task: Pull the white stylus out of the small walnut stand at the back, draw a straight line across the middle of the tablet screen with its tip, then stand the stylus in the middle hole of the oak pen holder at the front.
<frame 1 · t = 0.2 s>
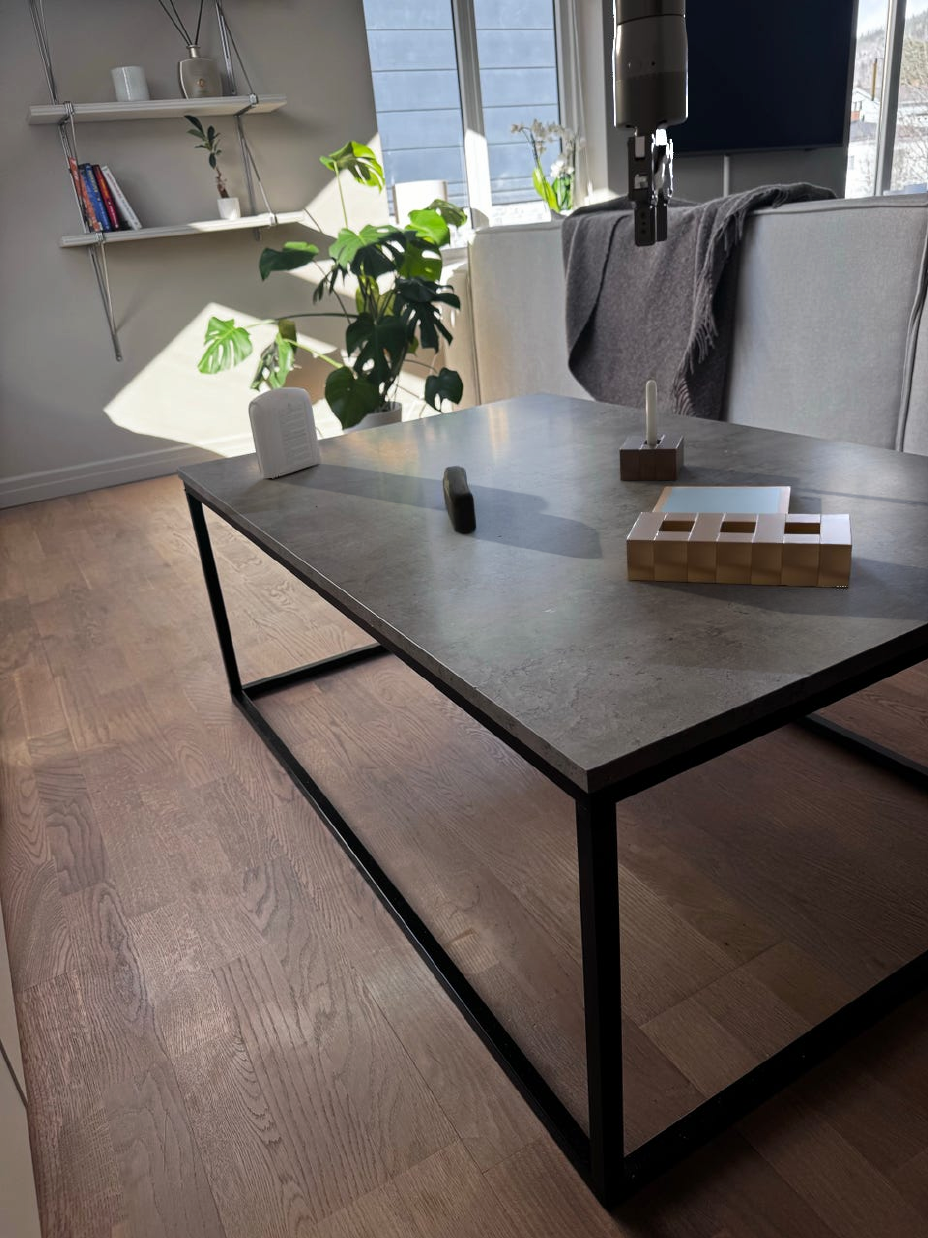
hand: (652, 243, 98), 28 cm above the table, tool pointing down, fingers open, 8 cm apart
tablet: (718, 518, 95), on the table
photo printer: (292, 471, 135), on the table
pen holder: (737, 567, 82), on the table
dark grey tall block: (459, 516, 106), on the table
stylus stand: (652, 472, 114), on the table
stylus: (651, 427, 112), in the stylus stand
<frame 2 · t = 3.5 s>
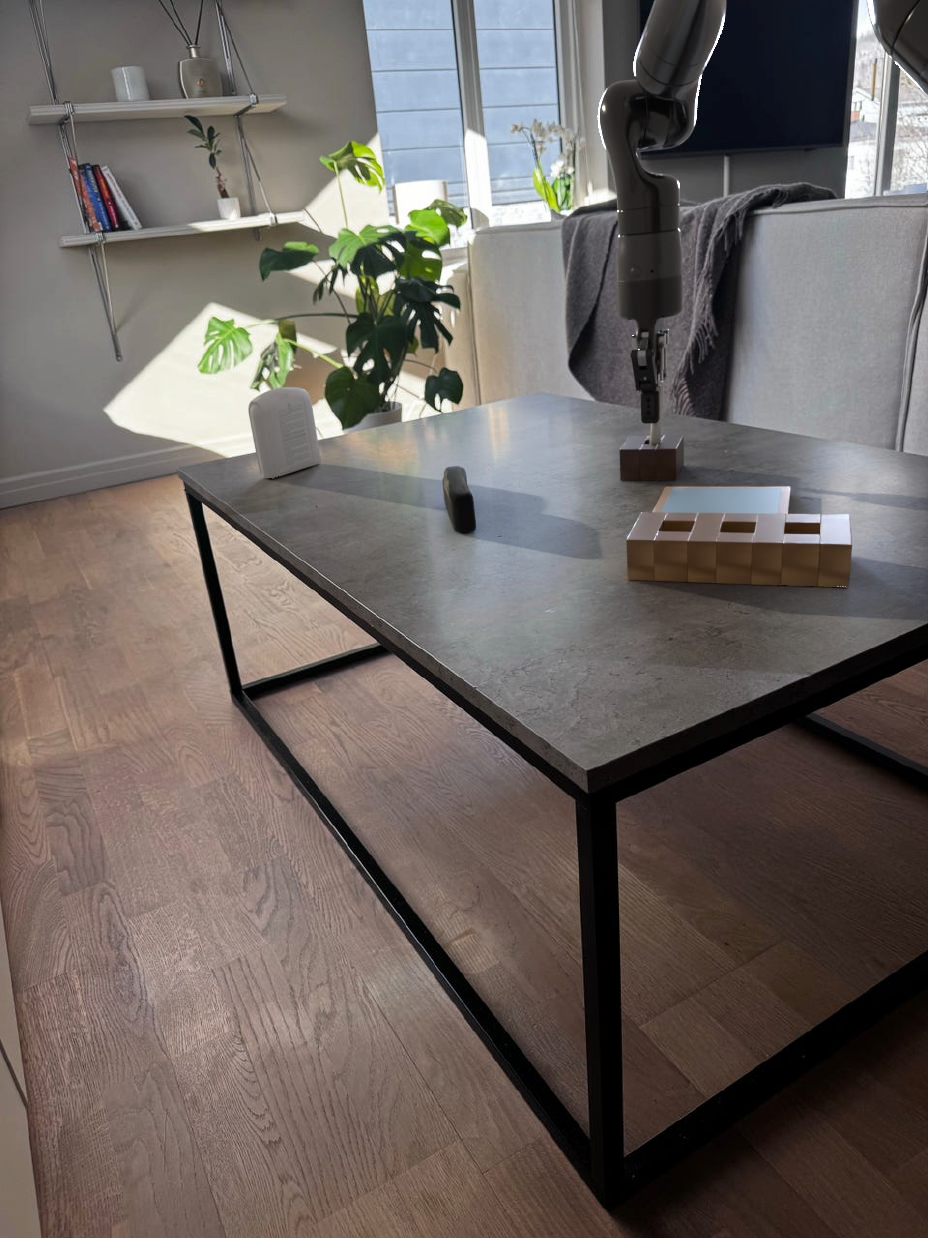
hand: (651, 420, 111), 7 cm above the table, tool pointing down, fingers closed on stylus, 1 cm apart
stylus: (655, 427, 111), in the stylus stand, tilted 5°, touching gripper
everything else where it was.
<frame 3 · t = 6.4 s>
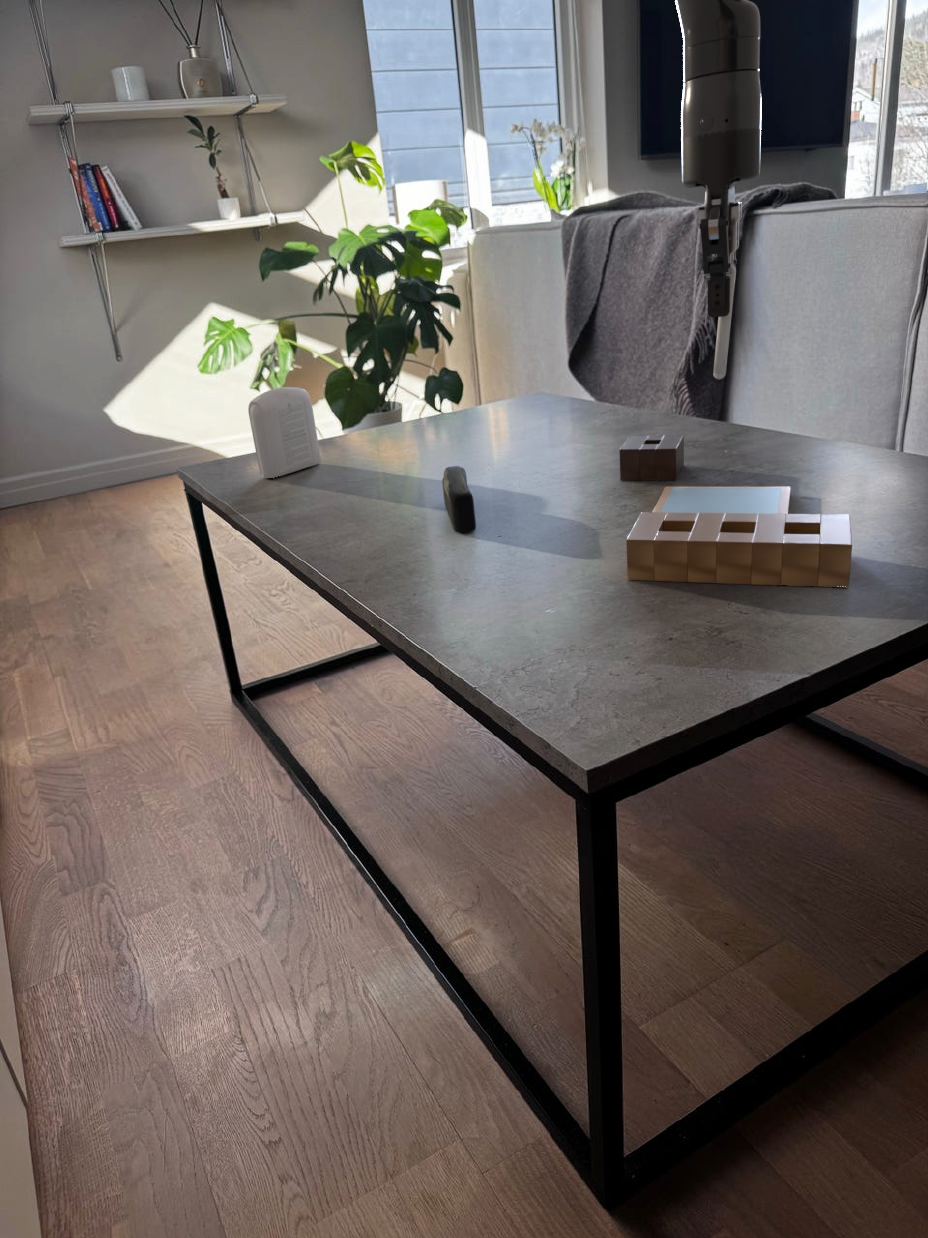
hand: (719, 314, 94), 20 cm above the table, tool pointing down, fingers closed on stylus, 1 cm apart
stylus: (724, 323, 94), point 19 cm above the table, touching gripper
everything else where it was.
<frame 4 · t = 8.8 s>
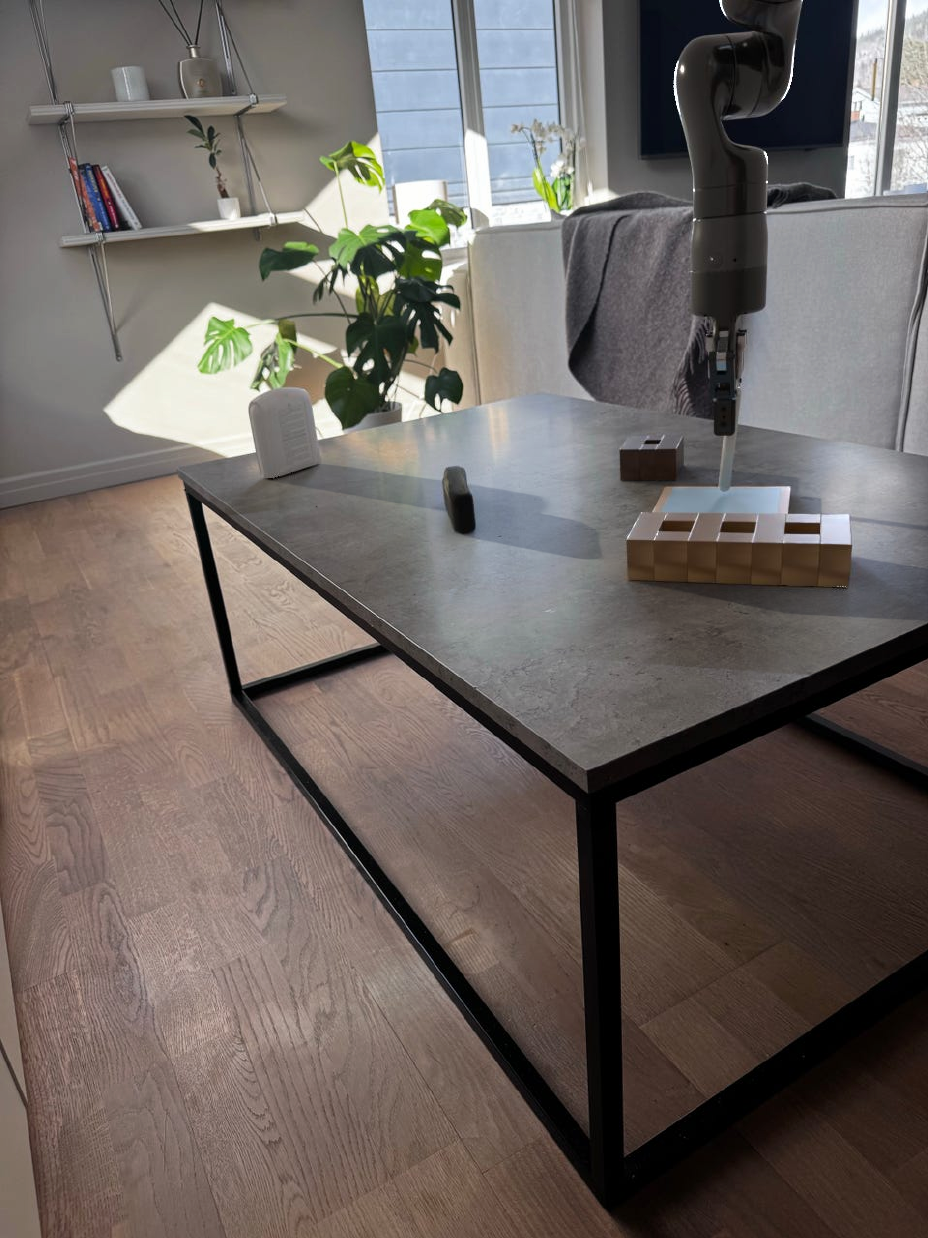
hand: (725, 432, 97), 8 cm above the table, tool pointing down, fingers closed on stylus, 1 cm apart
stylus: (729, 440, 97), point 7 cm above the table, tilted 5°, touching gripper
everything else where it was.
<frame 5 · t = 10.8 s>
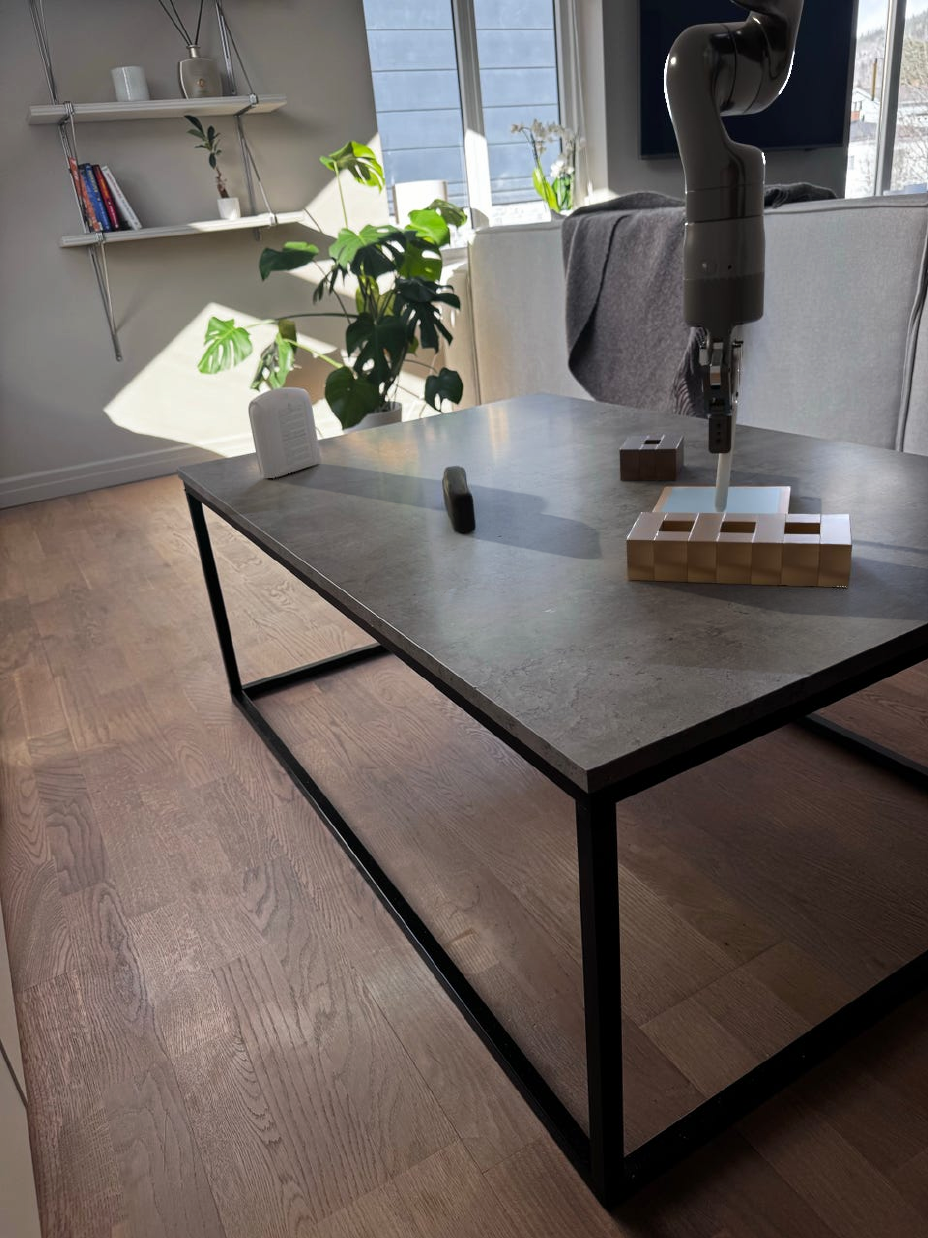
hand: (720, 449, 91), 8 cm above the table, tool pointing down, fingers closed on stylus, 1 cm apart
stylus: (725, 458, 91), point 7 cm above the table, tilted 5°, touching gripper
everything else where it was.
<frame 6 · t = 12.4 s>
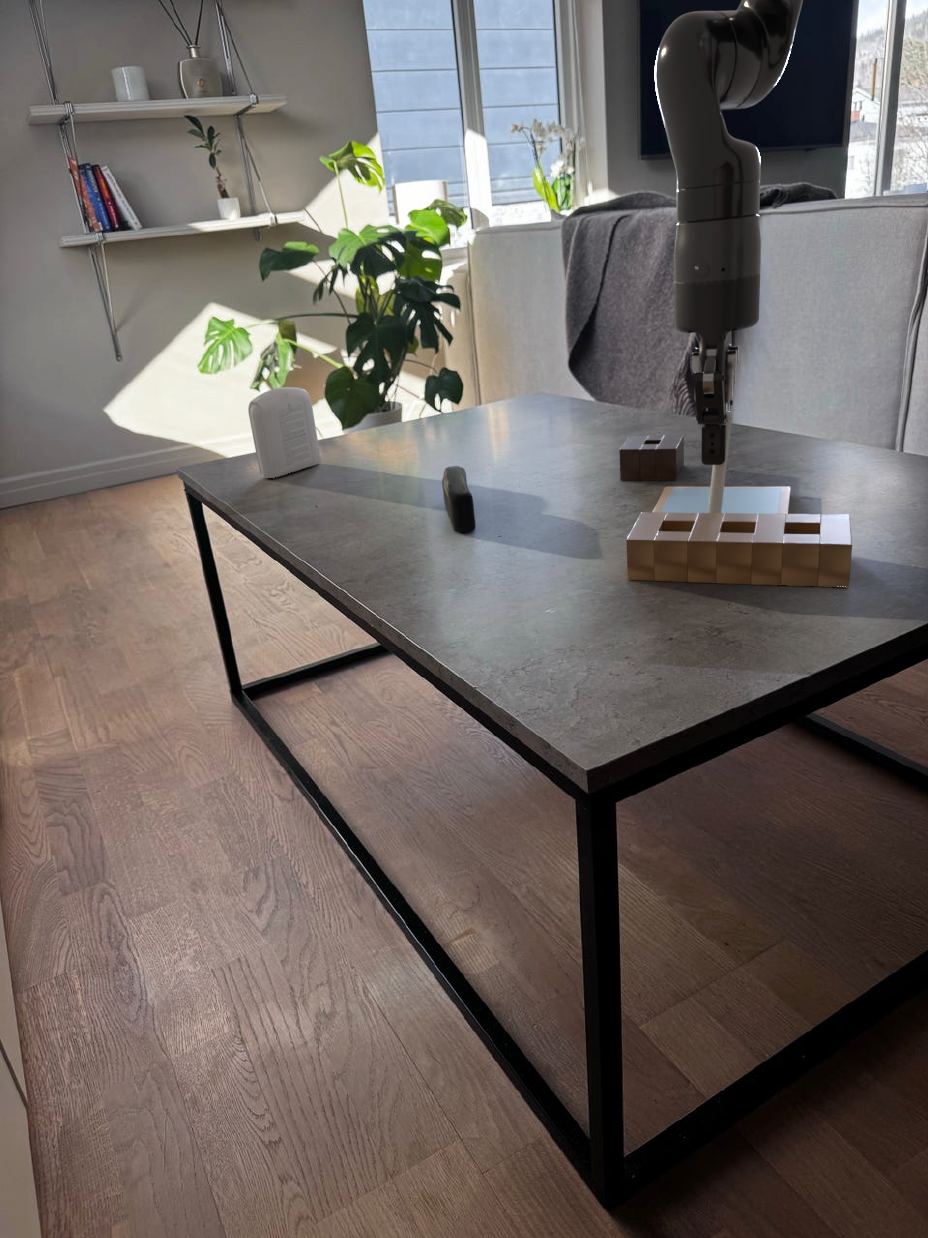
hand: (714, 460, 87), 8 cm above the table, tool pointing down, fingers closed on stylus, 1 cm apart
stylus: (719, 469, 87), point 7 cm above the table, tilted 5°, touching gripper
everything else where it was.
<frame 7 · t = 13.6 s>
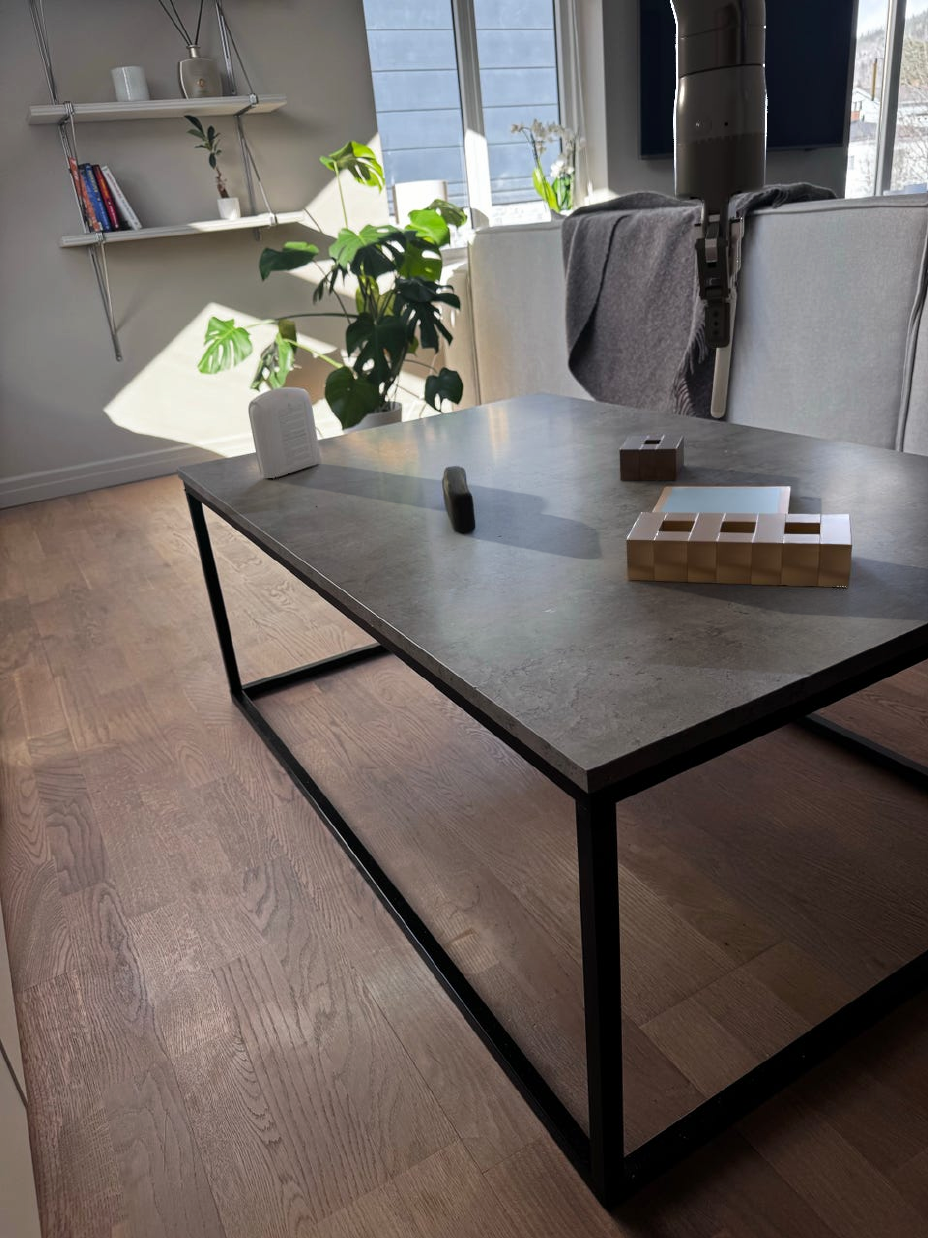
hand: (718, 344, 82), 19 cm above the table, tool pointing down, fingers closed on stylus, 1 cm apart
stylus: (723, 354, 82), point 18 cm above the table, touching gripper
everything else where it was.
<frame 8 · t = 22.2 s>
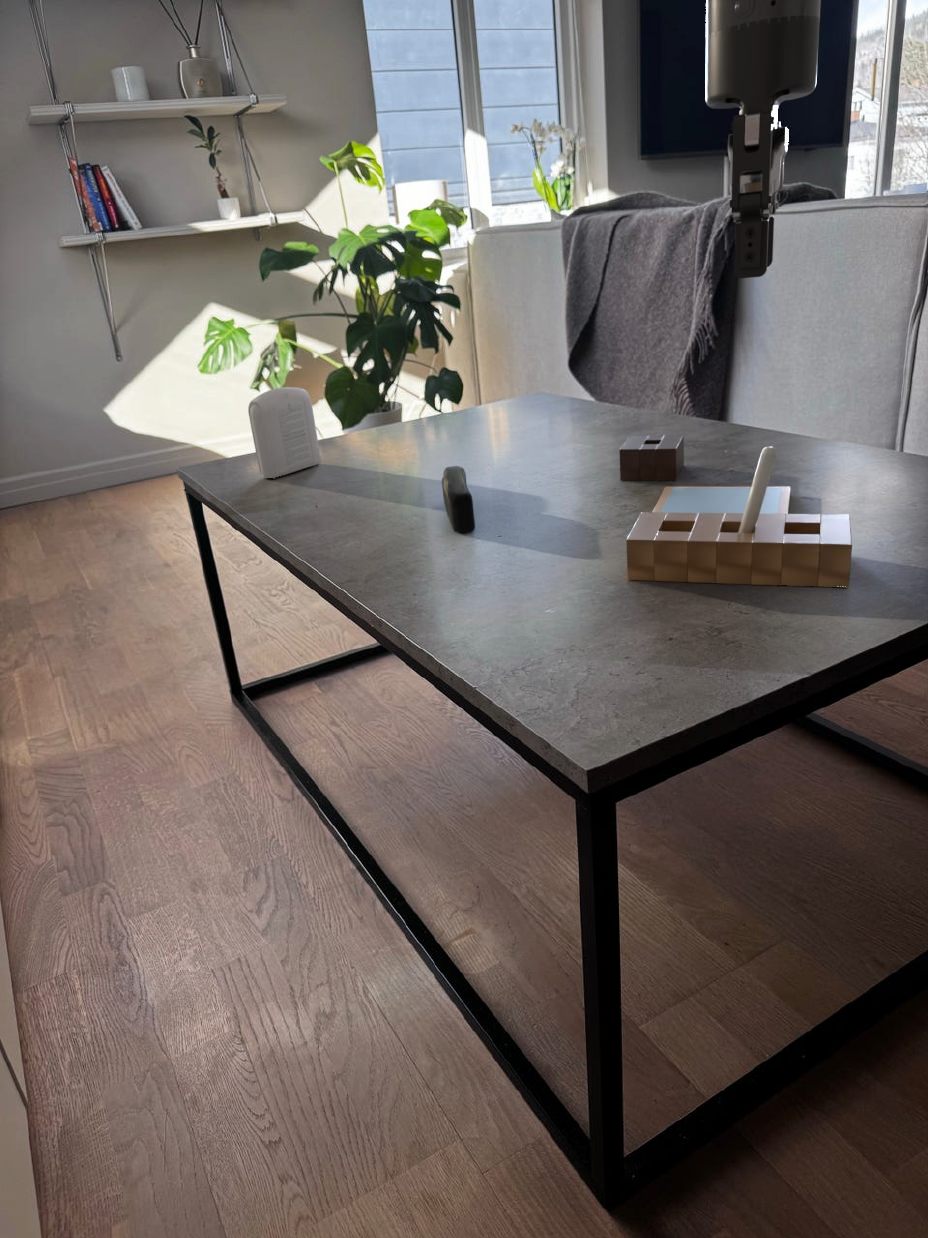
hand: (754, 272, 68), 26 cm above the table, tool pointing down, fingers open, 8 cm apart
stylus: (752, 509, 80), in the pen holder, tilted 13°
everything else where it was.
at the end: stylus 0.1 cm off-centre in the pen holder, point 5.7 cm above the pen holder's base; stylus tilted 13°; the gripper is holding nothing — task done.
